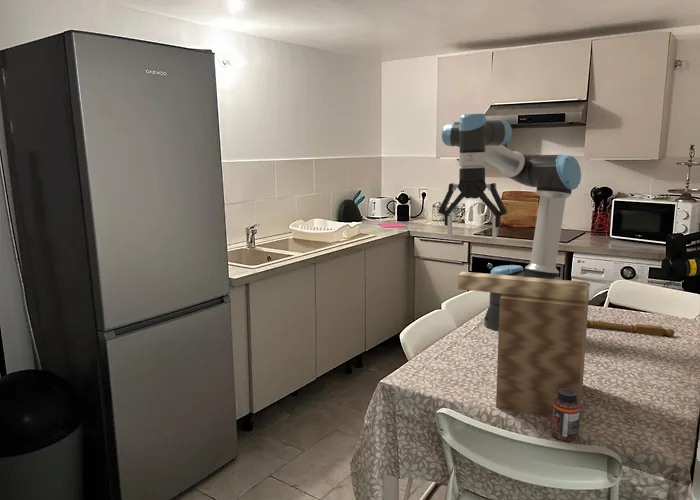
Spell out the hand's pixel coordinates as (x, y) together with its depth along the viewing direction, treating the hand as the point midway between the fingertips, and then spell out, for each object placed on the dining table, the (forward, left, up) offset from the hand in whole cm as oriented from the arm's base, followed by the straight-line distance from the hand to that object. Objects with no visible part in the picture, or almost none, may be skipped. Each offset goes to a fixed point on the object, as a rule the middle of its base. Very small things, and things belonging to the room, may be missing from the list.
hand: (471, 237), depth 169 cm
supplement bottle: (+42, -22, -41) cm, 62 cm away
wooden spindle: (+25, +64, -41) cm, 80 cm away
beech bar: (+24, -14, -10) cm, 30 cm away
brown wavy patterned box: (+28, -6, -40) cm, 49 cm away
